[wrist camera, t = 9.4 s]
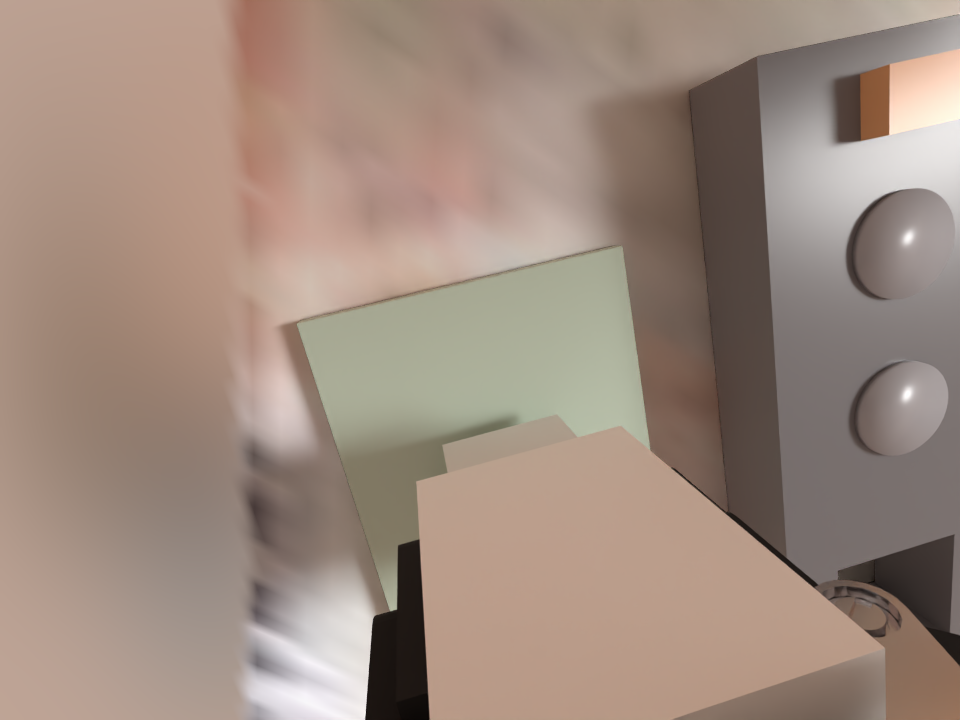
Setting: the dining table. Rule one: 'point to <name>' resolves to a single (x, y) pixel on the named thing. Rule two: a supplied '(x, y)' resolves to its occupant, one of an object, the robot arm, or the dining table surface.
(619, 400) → the mat
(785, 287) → the grey control panel
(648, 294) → the dining table surface
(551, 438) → the block
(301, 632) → the dining table surface
